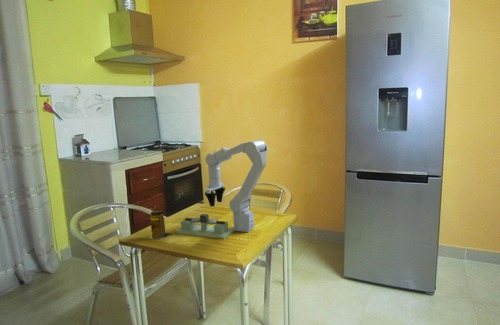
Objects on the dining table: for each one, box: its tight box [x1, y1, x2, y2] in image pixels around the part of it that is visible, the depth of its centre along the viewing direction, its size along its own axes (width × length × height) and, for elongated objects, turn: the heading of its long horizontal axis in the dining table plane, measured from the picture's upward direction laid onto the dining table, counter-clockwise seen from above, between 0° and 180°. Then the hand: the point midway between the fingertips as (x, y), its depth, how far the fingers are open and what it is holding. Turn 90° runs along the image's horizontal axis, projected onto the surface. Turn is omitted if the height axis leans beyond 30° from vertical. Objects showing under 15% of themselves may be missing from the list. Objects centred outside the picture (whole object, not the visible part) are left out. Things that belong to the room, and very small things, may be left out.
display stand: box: [174, 219, 235, 240], centre depth 156 cm, size 26×10×5 cm, turn 67°
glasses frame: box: [184, 213, 226, 226], centre depth 155 cm, size 21×5×3 cm, turn 67°
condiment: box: [149, 209, 172, 240], centre depth 154 cm, size 7×8×12 cm
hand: (215, 204), depth 165 cm, fingers open, 7 cm apart
